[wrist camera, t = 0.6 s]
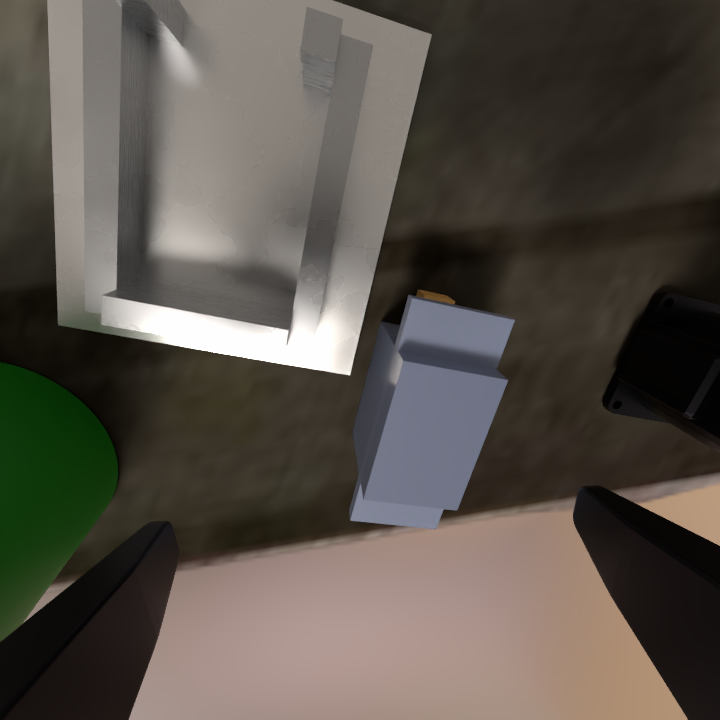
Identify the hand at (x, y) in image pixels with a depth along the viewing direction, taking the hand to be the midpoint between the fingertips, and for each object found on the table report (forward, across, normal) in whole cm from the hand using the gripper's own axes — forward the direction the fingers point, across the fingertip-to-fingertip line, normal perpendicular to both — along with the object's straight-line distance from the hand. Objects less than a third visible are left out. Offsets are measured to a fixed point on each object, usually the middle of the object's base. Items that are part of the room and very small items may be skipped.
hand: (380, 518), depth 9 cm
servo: (+11, -2, +2) cm, 11 cm away
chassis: (+10, +4, -7) cm, 13 cm away
